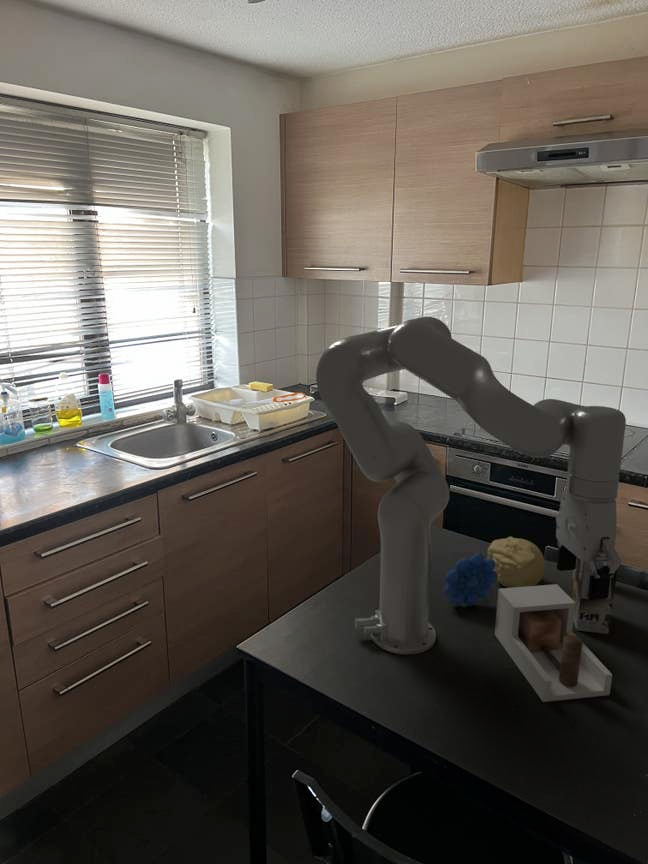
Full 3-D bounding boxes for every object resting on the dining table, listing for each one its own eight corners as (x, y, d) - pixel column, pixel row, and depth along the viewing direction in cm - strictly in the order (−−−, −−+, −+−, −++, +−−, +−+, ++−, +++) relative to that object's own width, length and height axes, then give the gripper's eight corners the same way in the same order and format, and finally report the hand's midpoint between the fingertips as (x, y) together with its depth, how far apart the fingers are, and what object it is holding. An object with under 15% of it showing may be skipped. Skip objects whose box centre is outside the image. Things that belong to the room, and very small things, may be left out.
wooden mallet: (556, 688, 109) (560, 646, 107) (514, 633, 124) (517, 596, 122) (589, 684, 110) (594, 643, 108) (543, 631, 125) (546, 594, 123)
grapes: (487, 593, 142) (491, 543, 138) (499, 609, 135) (504, 557, 132) (436, 597, 140) (439, 546, 137) (446, 613, 134) (449, 561, 130)
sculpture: (478, 580, 147) (481, 537, 144) (511, 566, 154) (515, 524, 151) (519, 601, 138) (523, 555, 136) (552, 585, 145) (557, 541, 142)
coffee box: (610, 634, 126) (620, 559, 122) (575, 631, 128) (584, 556, 123) (600, 610, 135) (609, 539, 131) (568, 607, 136) (576, 537, 132)
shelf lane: (543, 701, 107) (548, 649, 105) (494, 634, 126) (498, 588, 124) (609, 694, 109) (616, 643, 106) (551, 629, 128) (556, 584, 125)
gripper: (543, 469, 109) (535, 561, 113) (600, 506, 92) (588, 613, 97) (584, 467, 110) (574, 558, 114) (648, 503, 93) (634, 608, 98)
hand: (581, 583), depth 106 cm, fingers open, 9 cm apart
